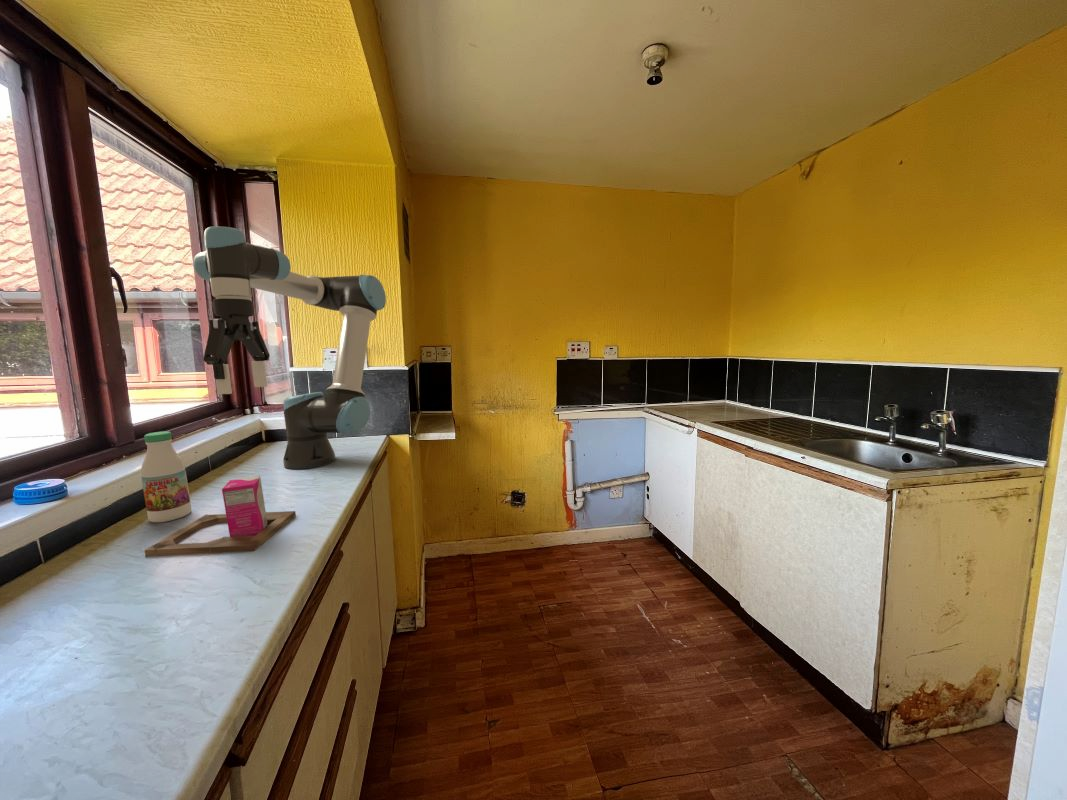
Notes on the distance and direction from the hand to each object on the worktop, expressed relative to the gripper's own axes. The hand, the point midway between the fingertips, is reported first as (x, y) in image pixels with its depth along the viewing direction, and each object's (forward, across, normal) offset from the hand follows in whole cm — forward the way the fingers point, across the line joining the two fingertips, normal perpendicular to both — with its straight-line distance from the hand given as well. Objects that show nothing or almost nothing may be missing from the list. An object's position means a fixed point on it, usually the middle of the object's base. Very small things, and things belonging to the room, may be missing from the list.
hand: (244, 390), depth 99 cm
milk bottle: (+29, +5, -17) cm, 34 cm away
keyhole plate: (+29, +16, +3) cm, 33 cm away
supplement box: (+29, +16, +7) cm, 34 cm away
